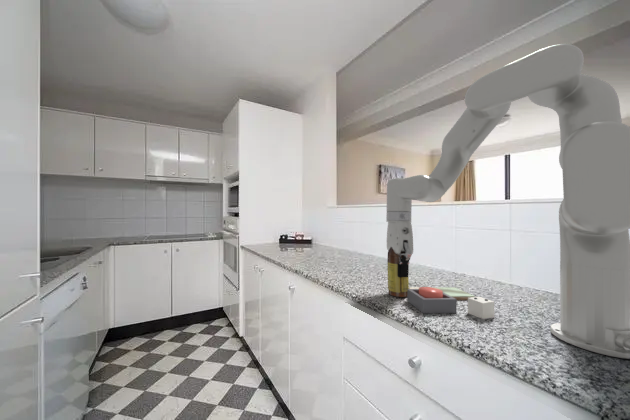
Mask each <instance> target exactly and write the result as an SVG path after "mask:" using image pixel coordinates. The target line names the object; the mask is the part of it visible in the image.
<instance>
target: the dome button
mask: <svg viewBox="0 0 630 420" xmlns="http://www.w3.org/2000/svg"><path fill="white" fill-rule="evenodd" d="M419 295H421V296H422V297H424V298H443V291H442V290H440V289H437V288H433V287H430V286H422V287H421V286H420V288H419Z"/></svg>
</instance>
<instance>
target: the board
mask: <svg viewBox="0 0 630 420" xmlns="http://www.w3.org/2000/svg"><path fill="white" fill-rule="evenodd" d="M420 287H421V286H420ZM420 287H419V286H417V287H415V286H414V287H413V286H412V287H409V289H419V288H420ZM432 288H437V289H440V290H442V291H443V293H445V294H447V295H449V296H451V297H453V298H455V299H457V301H468V298H471V297H477V296H475V295H473V294H471V293H469V292H467V291H464V290H462V289H460V288H458V287H454V286H451V287H447V286H446V287H445V286H444V287H432Z"/></svg>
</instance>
